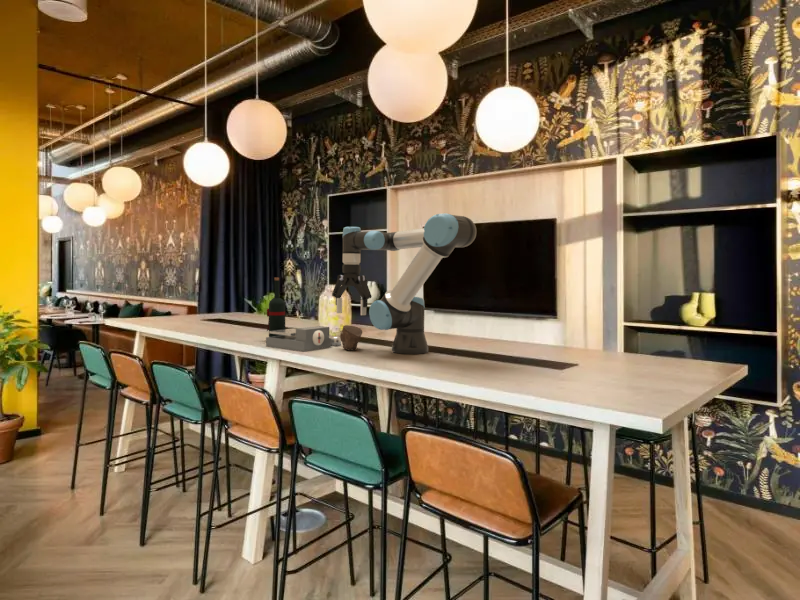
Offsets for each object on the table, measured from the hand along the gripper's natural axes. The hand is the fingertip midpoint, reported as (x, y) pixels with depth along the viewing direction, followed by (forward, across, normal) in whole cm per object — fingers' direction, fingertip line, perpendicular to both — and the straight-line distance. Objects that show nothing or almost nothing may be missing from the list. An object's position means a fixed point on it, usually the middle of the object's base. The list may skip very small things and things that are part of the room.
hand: (351, 314), depth 229 cm
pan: (+11, +28, +8) cm, 31 cm away
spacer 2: (+15, +14, -5) cm, 21 cm away
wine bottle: (+16, +45, +3) cm, 47 cm away
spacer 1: (+15, +20, -5) cm, 25 cm away
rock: (+15, 0, 0) cm, 15 cm away
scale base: (+15, +24, +8) cm, 29 cm away
